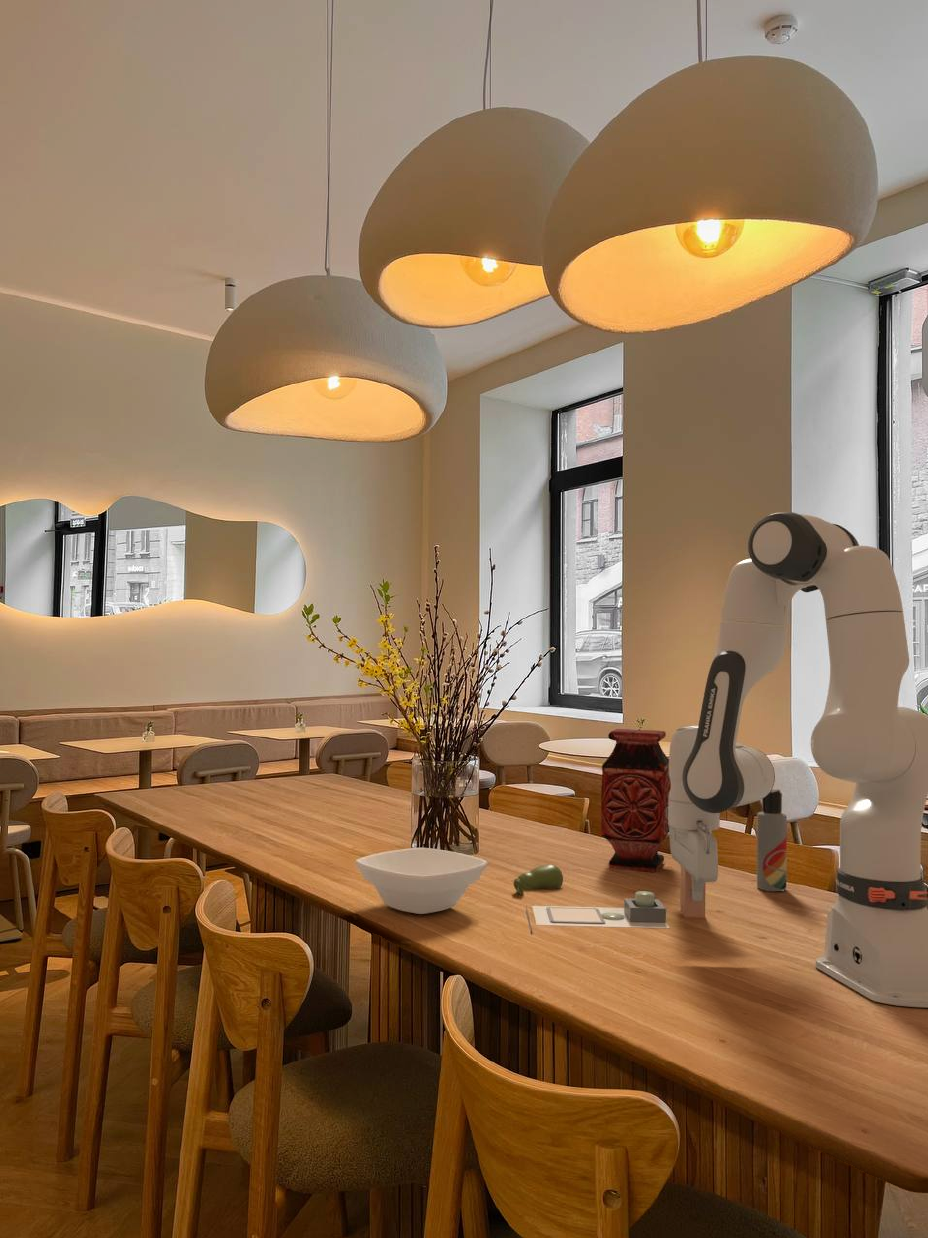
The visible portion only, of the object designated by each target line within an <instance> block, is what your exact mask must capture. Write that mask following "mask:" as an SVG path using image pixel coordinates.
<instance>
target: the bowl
mask: <svg viewBox="0 0 928 1238" xmlns="http://www.w3.org/2000/svg"><path fill="white" fill-rule="evenodd" d="M354 863H355V866H356V867H357V869H358V870H359V872H360V873H361V875H362V877H363V879H364V880H365V881H366V882H368V883H369V884H372V885H373V886H374V888H375V889H376V891H377V893H378V895H379V896H380V898H381V899H382V901H383V903H384V904H385V905H386V906H387V907H390V908H393V909H395V910H398V911H401V912H405V913H413V914H419V915H423V914H431V913H436V912H441V911H445V910H448V909H450V908H453V907H455V906H456V905H457V904H458V902H459V901H460V900H461V898H462V896H463V895H464V893H466V891H467V889H468V888H469V886H470V885H473V884H474V883H476V882H478V881H479V879H480V877H481V875H482V874H483V873H484V871H485V869H486V868H487V867H488V865H489V864H488V861H487V860H485V859H482V858H480V857H477V856H472V855H469V854H465V853H460V852H455V851H452V850H451V851H450V850H443V849H439V848H431V847H430V848H428V847H413V848H412V847H410V848H404V849H402V848H401V849H395V850H388V851H383V852H379V853H374V854H373V853H372V854H369V855H366V856H363V857H360V858H358V859H356V860H355V861H354Z"/></svg>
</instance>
